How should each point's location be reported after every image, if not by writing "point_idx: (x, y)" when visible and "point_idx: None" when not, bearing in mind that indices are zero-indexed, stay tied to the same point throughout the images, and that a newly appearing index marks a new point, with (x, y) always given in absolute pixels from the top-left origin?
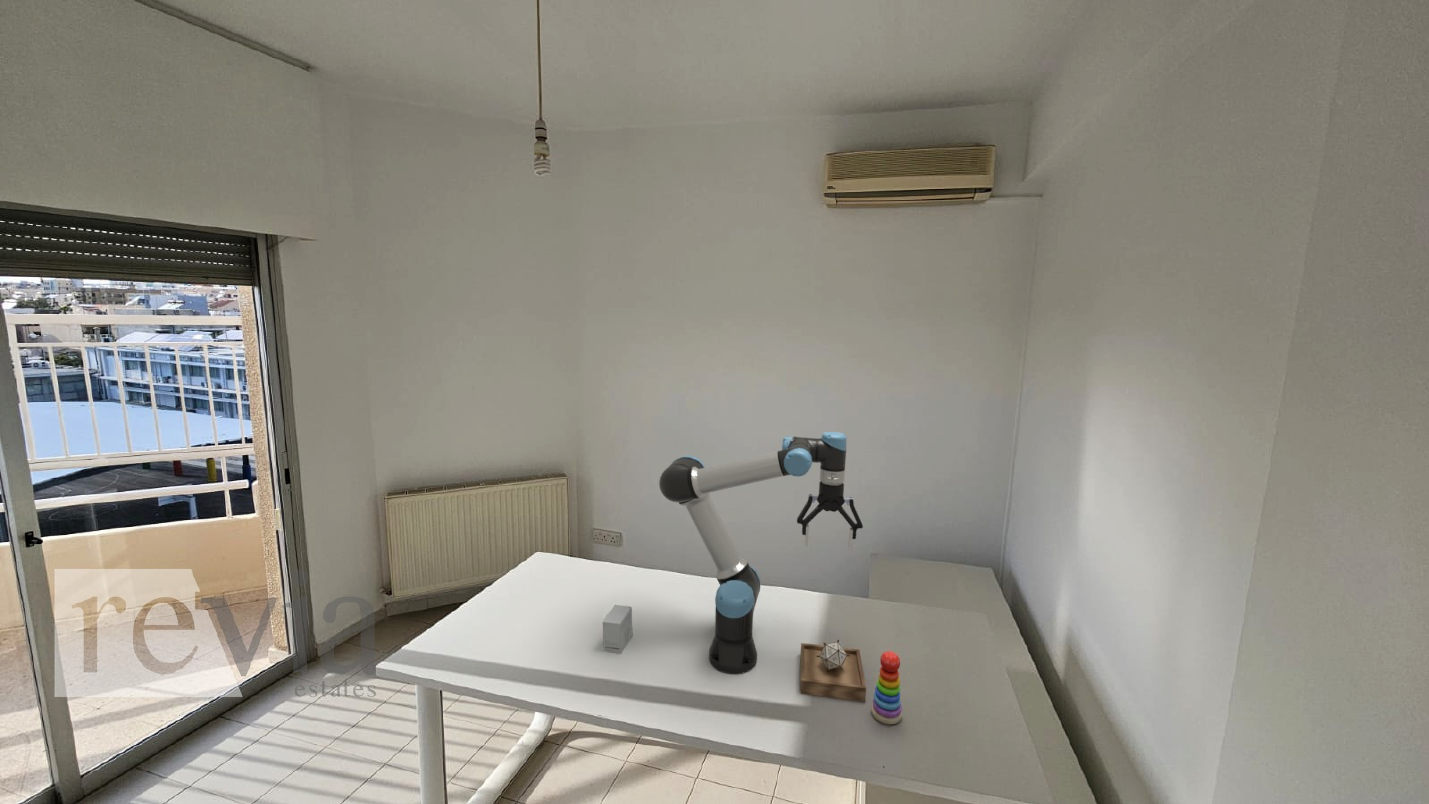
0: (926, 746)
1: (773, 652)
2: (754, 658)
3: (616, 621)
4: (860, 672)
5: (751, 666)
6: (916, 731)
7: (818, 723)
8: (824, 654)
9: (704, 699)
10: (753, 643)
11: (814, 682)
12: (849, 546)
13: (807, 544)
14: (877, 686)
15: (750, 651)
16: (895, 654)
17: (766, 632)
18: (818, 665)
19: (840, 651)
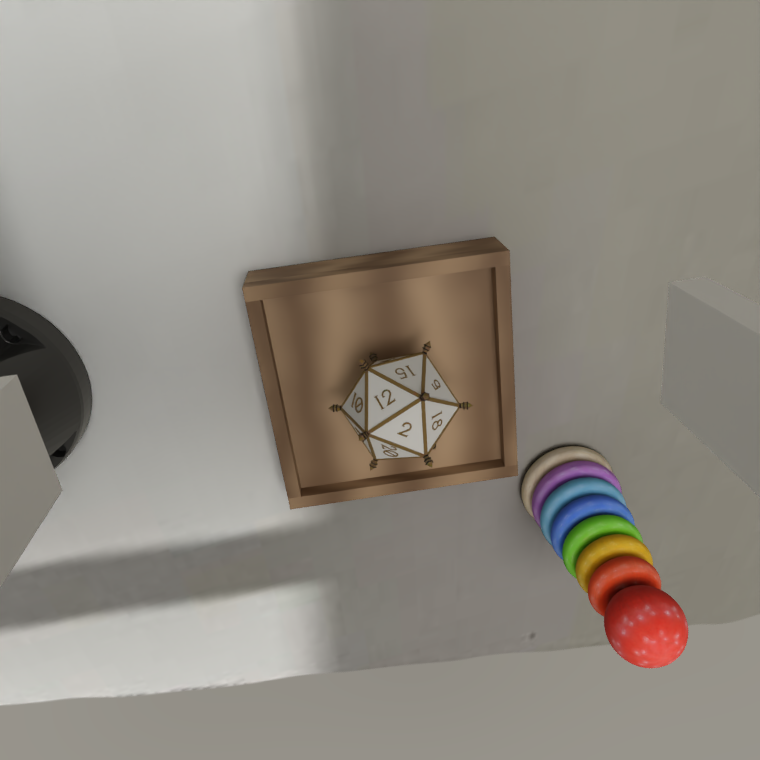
0: (652, 551)
1: (130, 290)
2: (77, 420)
3: None
4: (503, 400)
5: (82, 431)
6: (639, 512)
7: (366, 570)
8: (365, 442)
9: (7, 594)
10: (40, 414)
11: (338, 500)
12: (688, 425)
13: (48, 509)
14: (564, 562)
15: (50, 449)
16: (680, 648)
17: (39, 140)
18: (338, 385)
19: (435, 443)
